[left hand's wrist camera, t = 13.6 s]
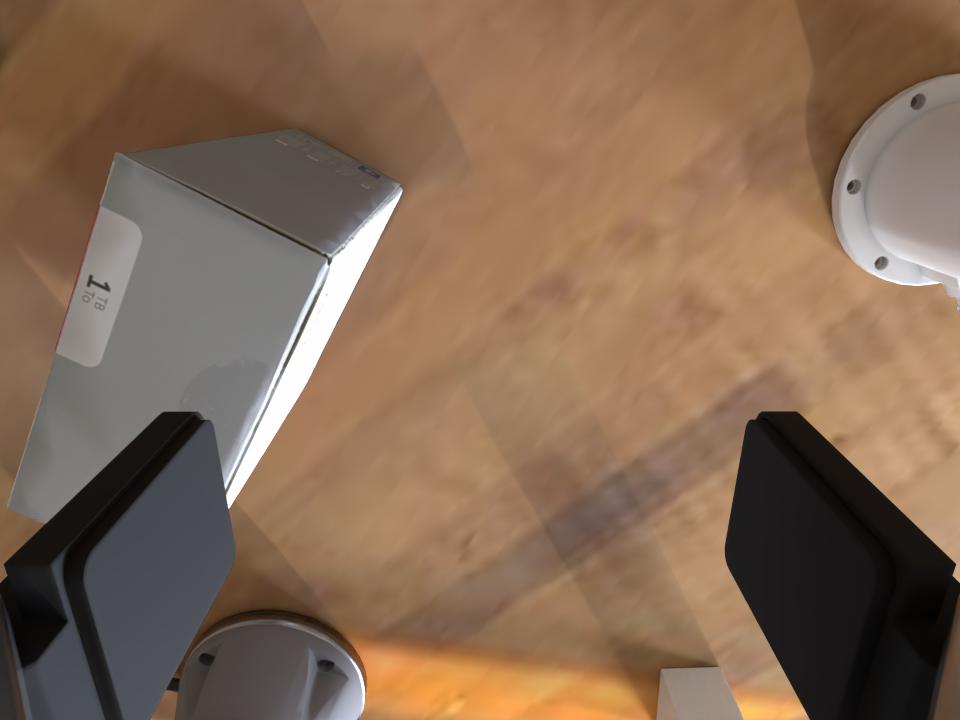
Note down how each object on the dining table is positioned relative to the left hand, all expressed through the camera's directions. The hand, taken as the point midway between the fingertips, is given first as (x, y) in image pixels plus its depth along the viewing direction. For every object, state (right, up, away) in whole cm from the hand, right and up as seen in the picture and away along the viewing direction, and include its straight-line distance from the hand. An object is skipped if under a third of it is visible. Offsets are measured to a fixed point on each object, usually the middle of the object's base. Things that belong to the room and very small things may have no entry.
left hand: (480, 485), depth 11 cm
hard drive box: (-12, +8, +30) cm, 33 cm away
